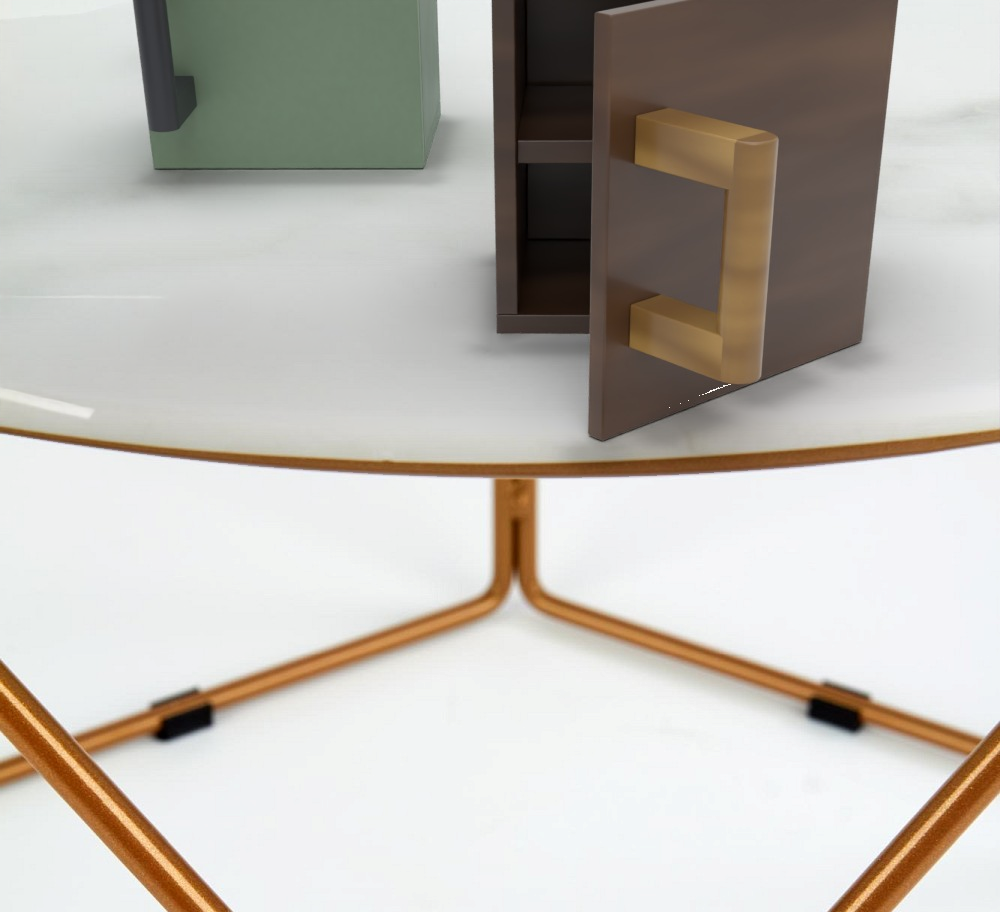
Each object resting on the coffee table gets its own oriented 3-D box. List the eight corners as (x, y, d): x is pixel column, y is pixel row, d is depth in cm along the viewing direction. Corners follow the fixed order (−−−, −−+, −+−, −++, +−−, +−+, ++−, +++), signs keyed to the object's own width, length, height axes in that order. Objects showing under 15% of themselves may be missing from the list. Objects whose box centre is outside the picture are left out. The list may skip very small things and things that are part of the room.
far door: (414, 197, 88) (402, -116, 80) (131, 197, 89) (90, -113, 81) (424, 164, 93) (413, -133, 85) (156, 165, 94) (120, -130, 86)
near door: (969, 377, 67) (1028, -25, 59) (709, 487, 59) (735, 40, 51) (847, 336, 71) (886, -46, 63) (587, 435, 63) (593, 12, 55)
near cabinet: (852, 337, 71) (892, -52, 63) (496, 335, 72) (490, -49, 64) (823, 253, 80) (855, -96, 72) (508, 252, 81) (504, -93, 73)
